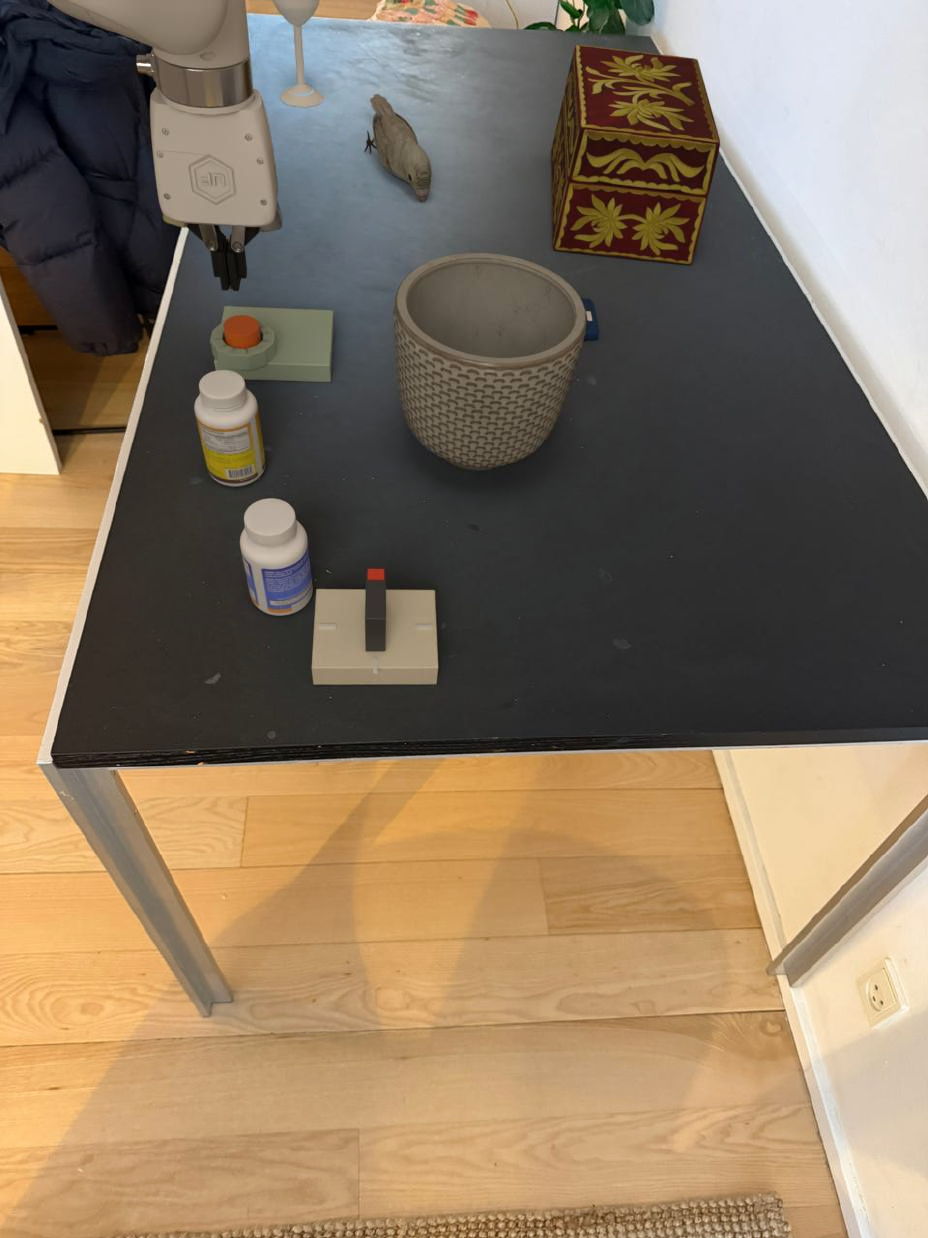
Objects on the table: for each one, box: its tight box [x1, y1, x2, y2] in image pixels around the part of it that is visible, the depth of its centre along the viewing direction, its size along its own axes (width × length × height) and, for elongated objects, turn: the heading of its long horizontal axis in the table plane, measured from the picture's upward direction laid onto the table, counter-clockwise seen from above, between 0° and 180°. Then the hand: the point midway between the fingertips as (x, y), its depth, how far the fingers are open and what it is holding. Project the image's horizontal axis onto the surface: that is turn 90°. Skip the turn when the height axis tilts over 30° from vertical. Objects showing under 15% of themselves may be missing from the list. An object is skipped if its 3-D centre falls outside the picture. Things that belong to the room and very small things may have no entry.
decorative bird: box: [363, 93, 433, 203], centre depth 118 cm, size 5×16×7 cm, turn 27°
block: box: [209, 305, 335, 383], centre depth 93 cm, size 12×11×4 cm
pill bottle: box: [239, 497, 314, 617], centre depth 71 cm, size 5×5×10 cm
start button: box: [223, 315, 261, 349], centre depth 90 cm, size 4×4×2 cm
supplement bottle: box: [193, 370, 266, 487], centre depth 80 cm, size 6×6×10 cm
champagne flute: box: [272, 0, 324, 108], centre depth 124 cm, size 7×7×24 cm
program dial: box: [364, 568, 387, 651], centre depth 69 cm, size 5×2×5 cm, turn 3°
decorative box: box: [550, 44, 721, 266], centre depth 115 cm, size 28×19×15 cm
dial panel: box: [311, 588, 439, 686], centre depth 72 cm, size 10×9×3 cm
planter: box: [392, 252, 587, 472], centre depth 83 cm, size 17×17×16 cm
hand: (231, 282), depth 85 cm, fingers closed
